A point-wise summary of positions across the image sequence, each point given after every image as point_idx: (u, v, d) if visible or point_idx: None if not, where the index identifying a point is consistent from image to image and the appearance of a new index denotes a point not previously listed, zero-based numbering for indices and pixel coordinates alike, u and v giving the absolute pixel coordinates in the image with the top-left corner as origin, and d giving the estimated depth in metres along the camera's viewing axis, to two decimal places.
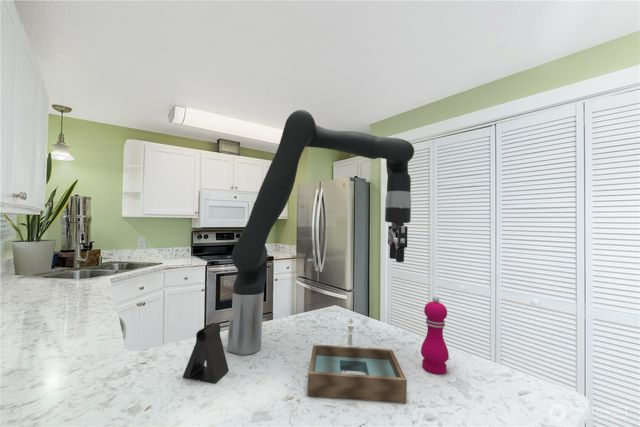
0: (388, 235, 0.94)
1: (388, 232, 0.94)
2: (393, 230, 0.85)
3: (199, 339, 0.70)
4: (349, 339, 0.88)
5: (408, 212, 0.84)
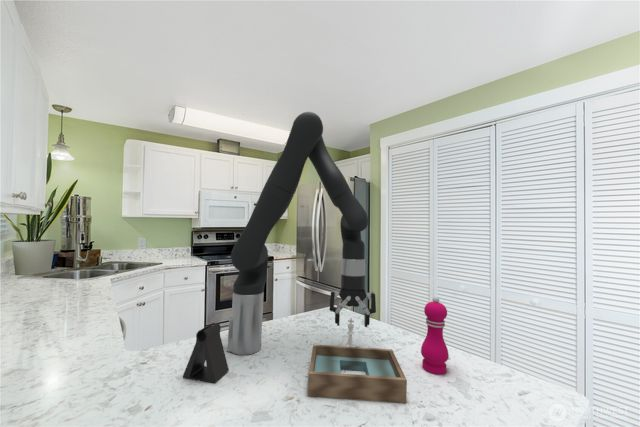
0: (331, 302, 0.88)
1: (330, 298, 0.88)
2: (359, 297, 0.88)
3: (199, 339, 0.70)
4: (349, 339, 0.88)
5: None
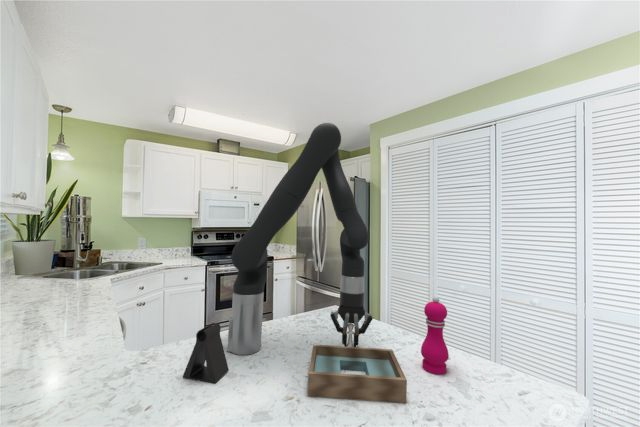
0: (335, 323, 0.88)
1: (333, 321, 0.88)
2: (357, 316, 0.88)
3: (199, 339, 0.70)
4: (349, 339, 0.88)
5: None
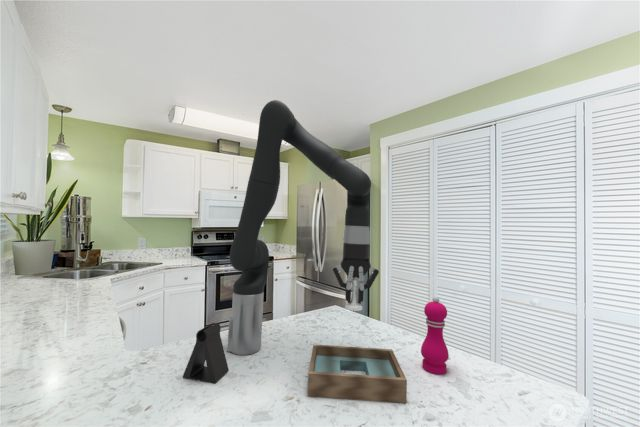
0: (338, 278, 0.81)
1: (336, 275, 0.81)
2: (362, 269, 0.80)
3: (199, 339, 0.70)
4: (353, 295, 0.81)
5: None
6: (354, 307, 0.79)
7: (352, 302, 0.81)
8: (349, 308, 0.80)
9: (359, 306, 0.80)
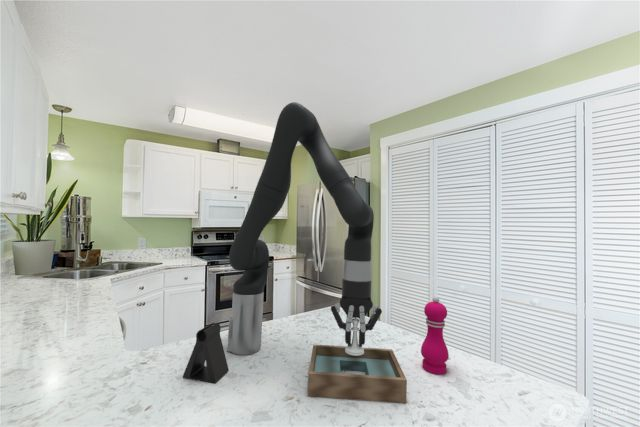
0: (336, 318, 0.73)
1: (334, 315, 0.73)
2: (364, 309, 0.72)
3: (199, 339, 0.70)
4: (354, 337, 0.73)
5: None
6: (354, 351, 0.71)
7: (352, 345, 0.73)
8: (349, 352, 0.72)
9: (360, 350, 0.72)
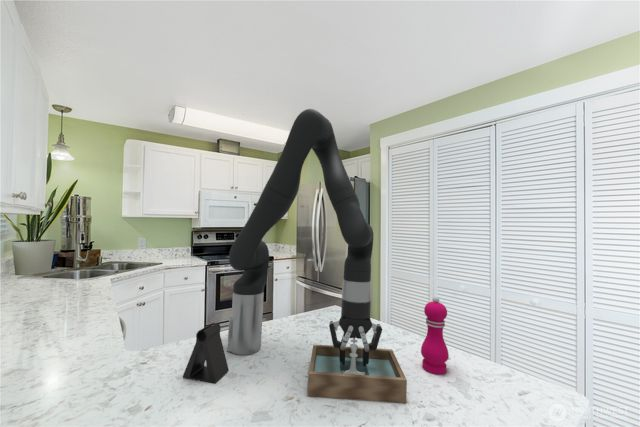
0: (332, 336, 0.73)
1: (331, 333, 0.73)
2: (363, 329, 0.72)
3: (199, 339, 0.70)
4: (352, 363, 0.73)
5: None
6: None
7: (351, 371, 0.73)
8: None
9: None
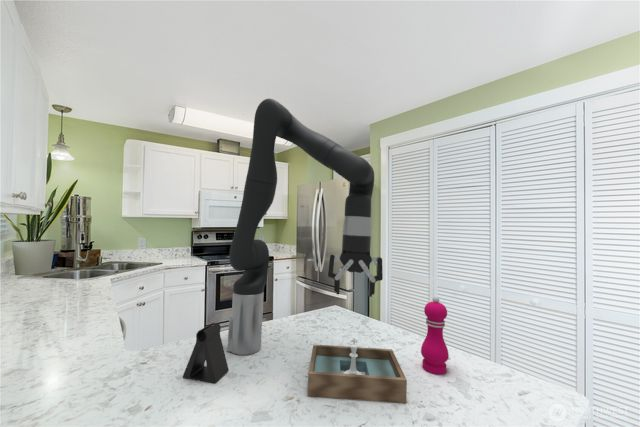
0: (330, 266, 0.75)
1: (329, 262, 0.75)
2: (363, 262, 0.74)
3: (199, 339, 0.70)
4: (352, 363, 0.73)
5: None
6: None
7: (351, 371, 0.73)
8: None
9: None
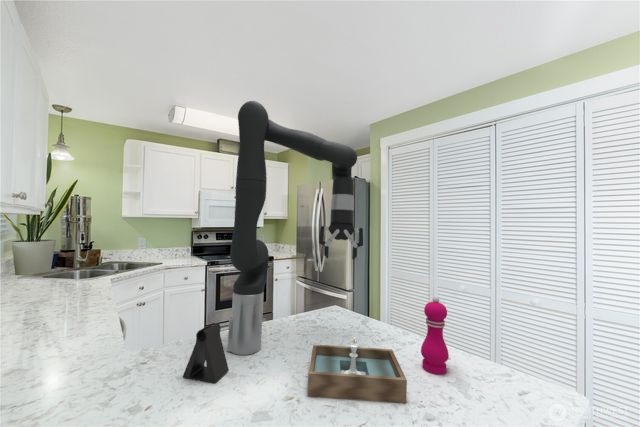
0: (320, 235, 0.93)
1: (320, 232, 0.93)
2: (347, 231, 0.92)
3: (199, 339, 0.70)
4: (352, 363, 0.73)
5: None
6: None
7: (351, 371, 0.73)
8: None
9: None
